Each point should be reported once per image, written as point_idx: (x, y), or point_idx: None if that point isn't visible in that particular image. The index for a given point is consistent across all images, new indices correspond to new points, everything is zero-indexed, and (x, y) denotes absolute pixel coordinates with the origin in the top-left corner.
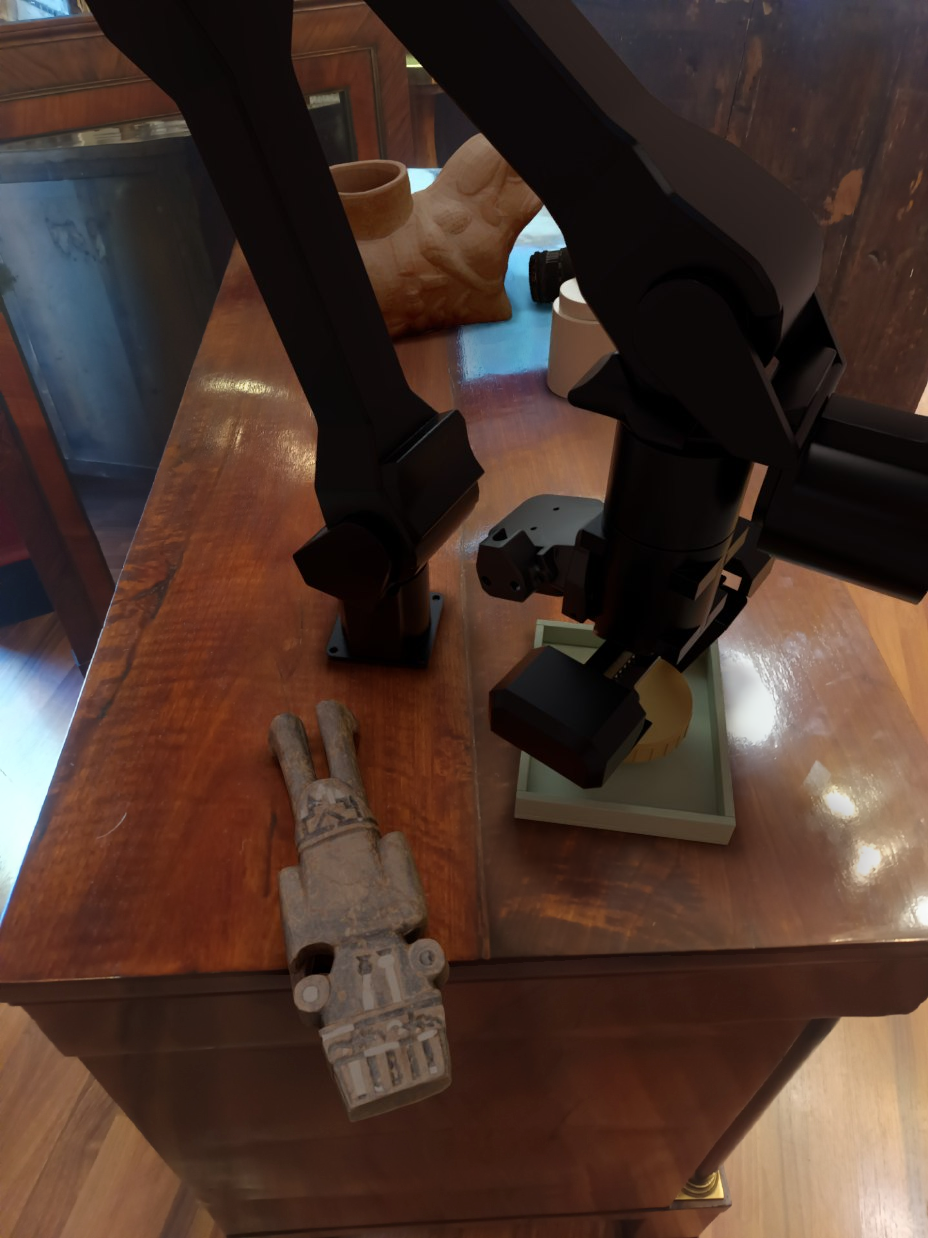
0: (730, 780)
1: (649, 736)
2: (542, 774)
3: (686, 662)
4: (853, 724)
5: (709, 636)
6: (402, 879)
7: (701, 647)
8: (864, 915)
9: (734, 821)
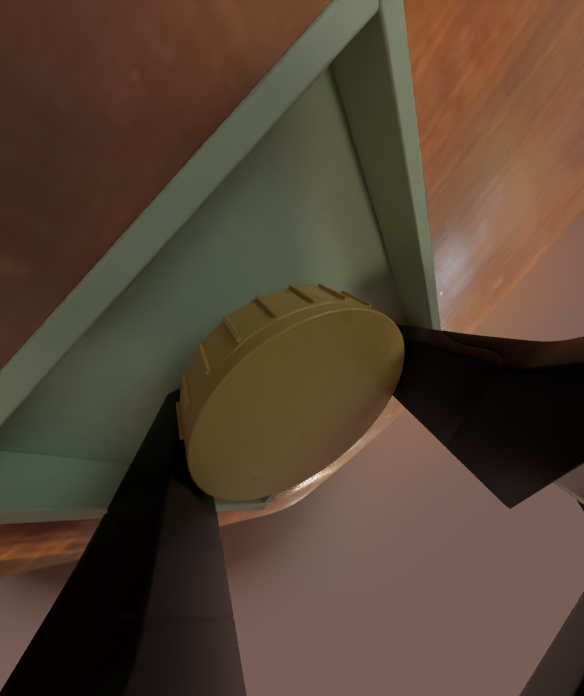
0: None
1: (272, 487)
2: (71, 392)
3: (408, 407)
4: (389, 407)
5: (475, 466)
6: None
7: (446, 443)
8: (279, 505)
9: (265, 506)
